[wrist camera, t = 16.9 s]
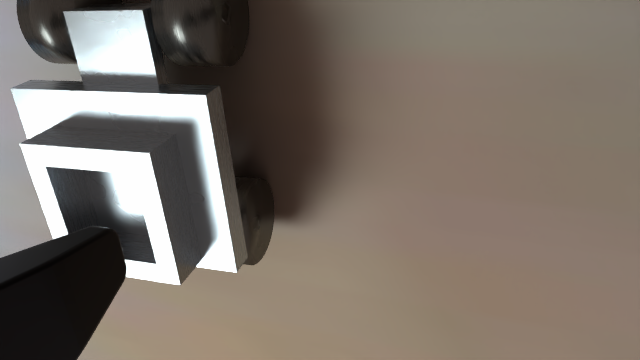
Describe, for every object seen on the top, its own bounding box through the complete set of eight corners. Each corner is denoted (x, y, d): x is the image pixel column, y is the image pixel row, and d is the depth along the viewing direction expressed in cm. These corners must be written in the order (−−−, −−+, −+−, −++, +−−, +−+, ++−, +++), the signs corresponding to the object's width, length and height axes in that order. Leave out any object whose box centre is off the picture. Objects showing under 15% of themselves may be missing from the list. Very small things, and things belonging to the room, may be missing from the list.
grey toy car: (248, -49, 20) (152, -23, 15) (283, 235, 25) (222, 327, 20) (67, -40, 22) (-71, -14, 17) (135, 218, 28) (47, 296, 23)
